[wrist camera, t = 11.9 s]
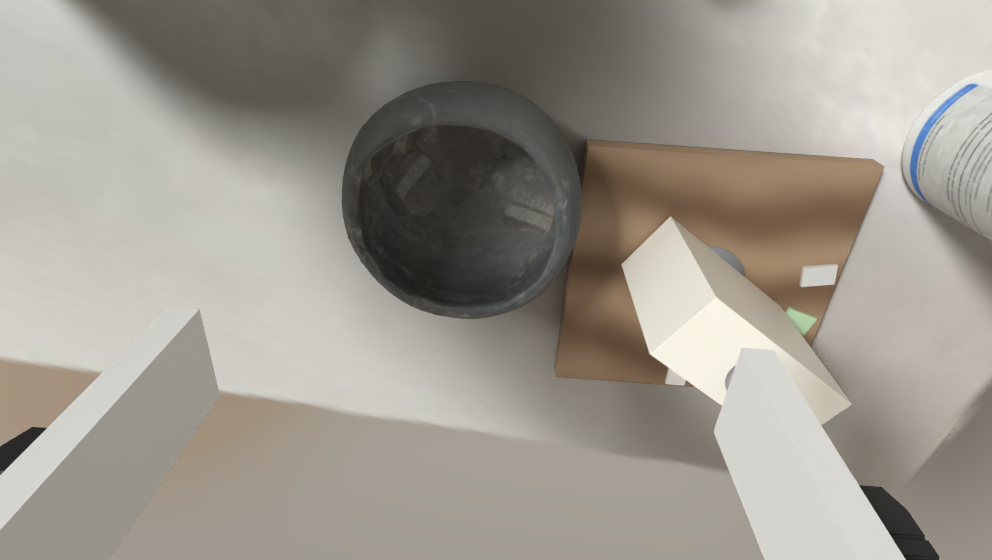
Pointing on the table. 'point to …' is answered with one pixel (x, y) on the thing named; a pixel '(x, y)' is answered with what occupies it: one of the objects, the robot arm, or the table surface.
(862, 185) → the board
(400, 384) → the table surface
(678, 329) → the white block with knob
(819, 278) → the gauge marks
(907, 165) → the supplement tub
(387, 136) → the bowl
